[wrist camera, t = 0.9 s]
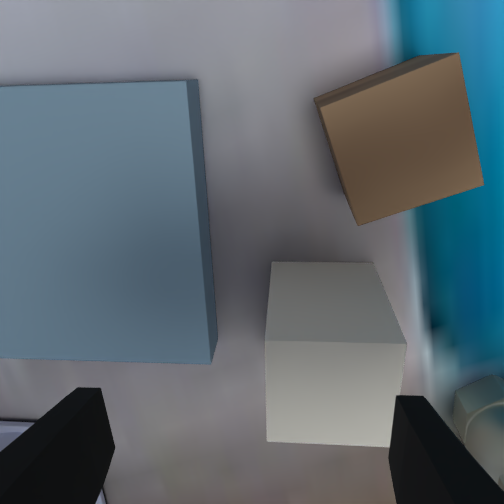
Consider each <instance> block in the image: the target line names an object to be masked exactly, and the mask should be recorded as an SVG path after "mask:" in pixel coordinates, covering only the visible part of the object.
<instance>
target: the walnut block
mask: <svg viewBox="0 0 504 504" xmlns="http://www.w3.org/2000/svg"><path fill="white" fill-rule="evenodd" d="M314 101H315V104H316V107H317V110H318V114H319V117H320V120H321V123H322V126H323V129H324V132H325V135H326V138H327V142H328V145H329V148H330V151H331V154H332V157H333V160H334V163H335V166H336V170H337V173H338V176H339V179H340V182H341V185H342V188H343V191H344V194H345V197H346V199H347V201H348V204H349V206H350V209H351V211H352V214H353V216H354V218H355V221H356V223H357V226H360V225H363V224H366V223H369V222H372V221H375V220H378V219H381V218H384V217H387V216H390V215H393V214H396V213H399V212H402V211H406V210H409V209H412V208H415V207H418V206H421V205H424V204H427V203H430V202H433V201H436V200H439V199H442V198H445V197H449V196H452V195H455V194H458V193H461V192H464V191H467V190H470V189H473V188H476V187H479V186H482V185H484V182H483V176H482V171H481V166H480V161H479V155H478V150H477V145H476V140H475V134H474V129H473V124H472V119H471V113H470V108H469V103H468V98H467V92H466V87H465V82H464V77H463V71H462V66H461V61H460V56H459V53H447V54H434V55H421V56H417V57H415V58H412V59H410V60H407V61H405V62H402V63H400V64H397V65H395V66H392V67H390V68H388V69H385V70H383V71H380V72H378V73H375V74H373V75H370V76H368V77H365V78H363V79H360V80H358V81H355V82H353V83H351V84H348V85H346V86H343V87H341V88H338V89H336V90H333V91H331V92H328V93H326V94H323V95H321V96H318V97H316V98H314Z"/></svg>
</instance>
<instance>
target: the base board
mask: <svg viewBox="0 0 504 504" xmlns="http://www.w3.org/2000/svg"><path fill="white" fill-rule="evenodd" d="M217 340H218V333H217V320H216V307H215V294H214V281H213V268H212V255H211V242H210V229H209V216H208V203H207V190H206V178H205V165H204V152H203V139H202V126H201V113H200V100H199V87H198V80H167V81H136V82H104V83H73V84H41V85H10V86H0V358H13V359H46V360H79V361H112V362H145V363H179V364H211V363H212V359H213V355H214V351H215V348H216V344H217Z"/></svg>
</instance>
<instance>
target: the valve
mask: <svg viewBox="0 0 504 504" xmlns="http://www.w3.org/2000/svg"><path fill="white" fill-rule="evenodd" d="M453 421H454V423H455V425H456V427H457V430H458V432H459V434H460V436H461V438H462V441H463V443H465V448H466V449H467V450H468V451H469V452H470V454H471V455H472V456H473V457H474V458H475V459H476V461H477V462H478V463H479V464H480V465H481V466H482V467H483V468H484V470H485V471H486V472H487V473H488V474H489V475H490V476H491V478H492V479H493V480H494V481H495V482H496V483H497V484H498V485H499V487H500V488H501V489H502V490H503V491H504V379H502V378H500V377H498V376H495V375H489V376H487V377H485V378H483V379H480V380H478V381H476V382H473V383H471V384H469V385H467V386H464V387H462V388H460V389H458V390H456V391H455V399H454V410H453Z"/></svg>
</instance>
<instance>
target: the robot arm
mask: <svg viewBox="0 0 504 504" xmlns="http://www.w3.org/2000/svg"><path fill="white" fill-rule="evenodd" d="M114 450H115V444H114V440H113V436H112V432H111V428H110V424H109V420H108V416H107V412H106V407H105V403H104V399H103V395H102V391H101V388H81V387H78V388H76V389H75V390H74V391H73V392H71V393H70V394H69V395H67V396H66V397H65V398H64V399H63V400H61V401H60V402H59V403H58V404H57V405H55V406H54V407H53V408H52V409H51V410H50V411H48V412H47V413H46V414H45V415H44V416H42V417H41V418H40V419H39V420H38V421H37V422H35V423H31V422H9V421H0V504H106V503H105V499H104V495H103V491H102V487H103V484H104V481H105V478H106V475H107V472H108V469H109V466H110V463H111V460H112V457H113V453H114ZM388 459H389V464H390V470H391V476H392V482H393V487H394V492H395V498H396V503H397V504H504V491H503V490H502V489H501V488H500V487H499V485H498V484H497V483H496V482H495V481H494V480H493V479H492V478H491V476H490V475H489V474H488V473H487V472H486V471H485V470H484V468H483V467H482V466H481V465H480V464H479V463H478V462H477V461H476V459H475V458H474V457H473V456H472V455H471V454H470V452H469V451H468V450H467V449H466V448H465V446H464V445H463V444H462V443H461V442H460V440H459V439H458V438H457V437H456V436H455V434H454V433H453V432H452V431H451V429H450V428H449V427H448V426H447V425H446V423H445V422H444V421H443V420H442V418H441V417H440V416H439V415H438V413H437V412H436V411H435V409H434V408H433V407H432V406H431V404H430V403H429V402H428V401H427V399H426V398H425V397H424V396H406V395H396V399H395V407H394V416H393V424H392V432H391V441H390V449H389V457H388Z"/></svg>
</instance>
